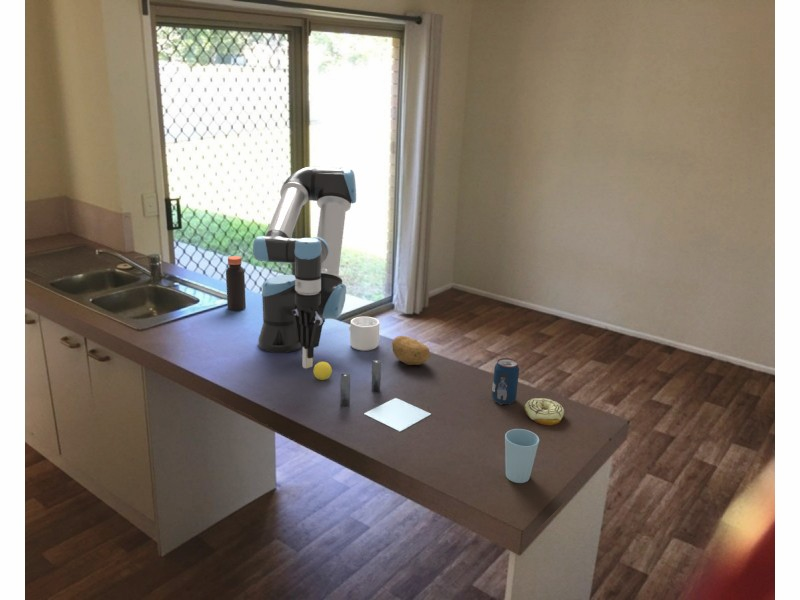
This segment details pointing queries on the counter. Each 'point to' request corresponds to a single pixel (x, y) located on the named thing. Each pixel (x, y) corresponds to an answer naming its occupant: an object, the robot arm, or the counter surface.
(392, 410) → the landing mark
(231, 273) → the bottle
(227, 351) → the counter surface
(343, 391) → the post
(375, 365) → the post
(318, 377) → the ball
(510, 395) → the soda can
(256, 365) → the counter surface
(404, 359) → the potato
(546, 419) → the decorated donut
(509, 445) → the cup
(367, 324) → the mug
